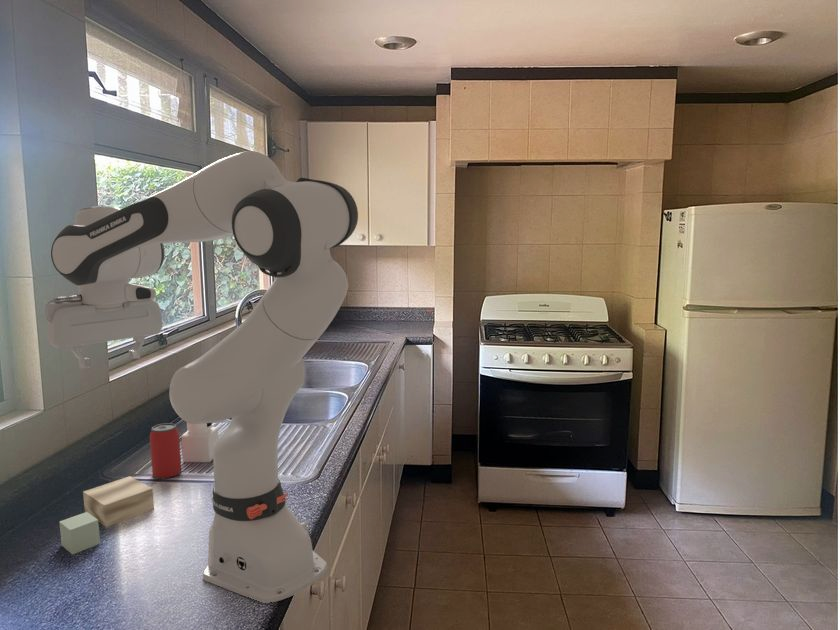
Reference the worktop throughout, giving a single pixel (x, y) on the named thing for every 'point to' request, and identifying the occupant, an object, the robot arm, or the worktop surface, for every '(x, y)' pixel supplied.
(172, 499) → the worktop surface
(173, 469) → the beer can
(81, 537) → the sage block
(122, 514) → the birch block
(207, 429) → the medicine bottle
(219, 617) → the worktop surface
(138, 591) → the worktop surface
